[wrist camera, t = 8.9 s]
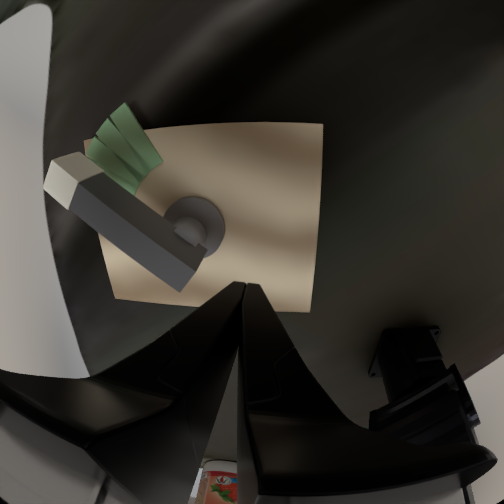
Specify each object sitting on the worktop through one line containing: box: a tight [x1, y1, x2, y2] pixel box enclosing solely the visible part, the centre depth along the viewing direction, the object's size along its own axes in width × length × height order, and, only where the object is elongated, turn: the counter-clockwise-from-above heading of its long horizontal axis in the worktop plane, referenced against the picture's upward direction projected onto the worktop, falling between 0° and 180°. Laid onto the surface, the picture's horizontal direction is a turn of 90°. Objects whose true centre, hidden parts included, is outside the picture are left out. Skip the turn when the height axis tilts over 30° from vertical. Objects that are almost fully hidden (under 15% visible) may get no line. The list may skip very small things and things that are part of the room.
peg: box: [43, 152, 208, 293], centre depth 16 cm, size 11×2×4 cm, turn 52°
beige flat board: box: [84, 102, 323, 312], centre depth 20 cm, size 16×18×2 cm
